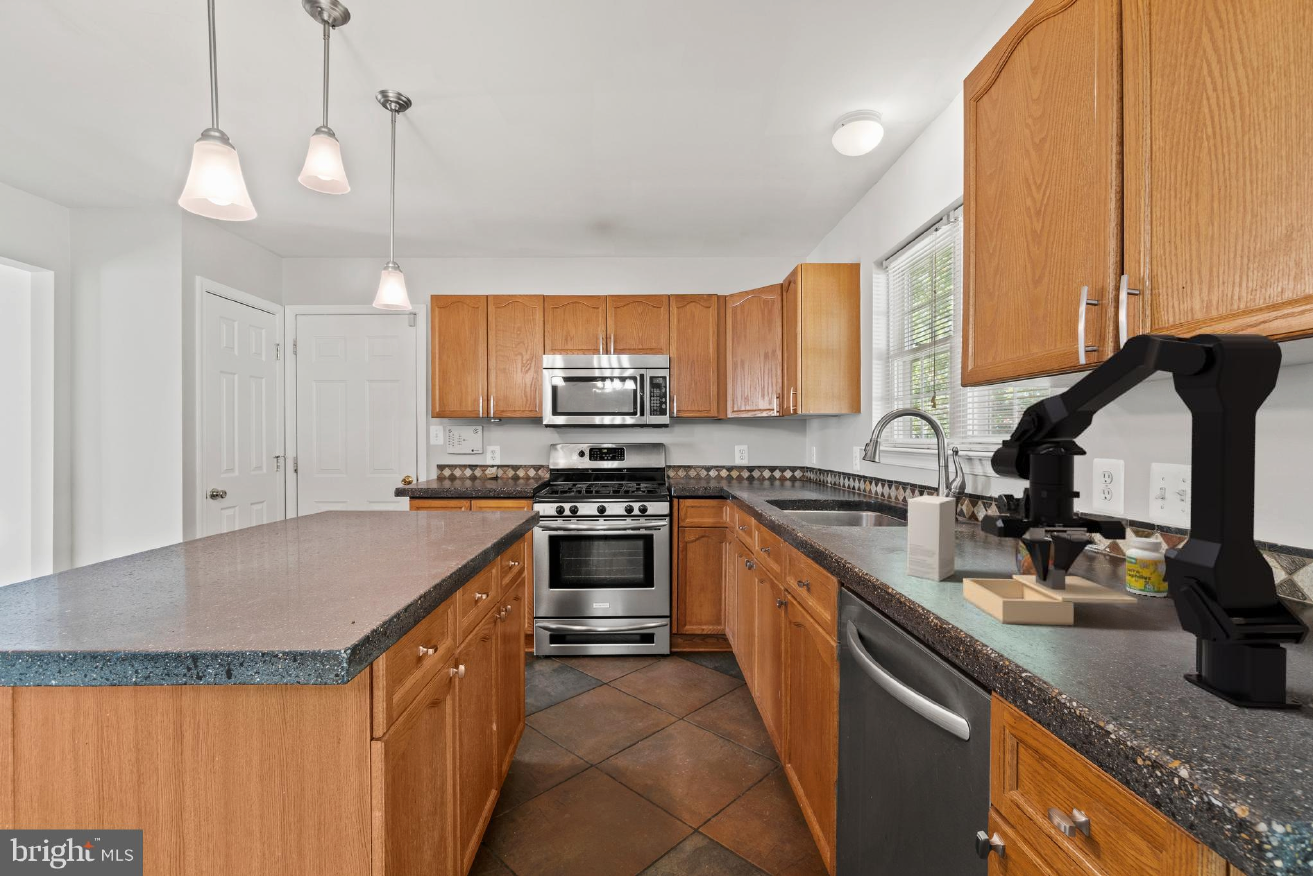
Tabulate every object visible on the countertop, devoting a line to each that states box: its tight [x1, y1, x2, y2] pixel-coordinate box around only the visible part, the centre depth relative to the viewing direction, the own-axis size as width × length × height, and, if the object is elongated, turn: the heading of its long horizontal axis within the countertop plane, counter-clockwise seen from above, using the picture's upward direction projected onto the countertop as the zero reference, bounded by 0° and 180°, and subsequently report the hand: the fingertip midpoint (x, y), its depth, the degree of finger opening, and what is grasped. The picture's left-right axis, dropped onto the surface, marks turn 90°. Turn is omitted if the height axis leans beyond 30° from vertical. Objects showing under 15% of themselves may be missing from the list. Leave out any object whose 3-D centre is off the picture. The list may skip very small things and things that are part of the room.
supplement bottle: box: [1125, 537, 1168, 598], centre depth 94 cm, size 5×5×10 cm
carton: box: [962, 577, 1075, 626], centre depth 85 cm, size 12×10×4 cm
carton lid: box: [1012, 564, 1138, 604], centre depth 84 cm, size 12×10×4 cm
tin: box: [1014, 539, 1054, 575], centre depth 103 cm, size 15×3×8 cm, turn 161°
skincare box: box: [906, 494, 956, 583], centre depth 106 cm, size 8×7×16 cm
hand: (1050, 580), depth 84 cm, fingers closed on carton lid, 2 cm apart
